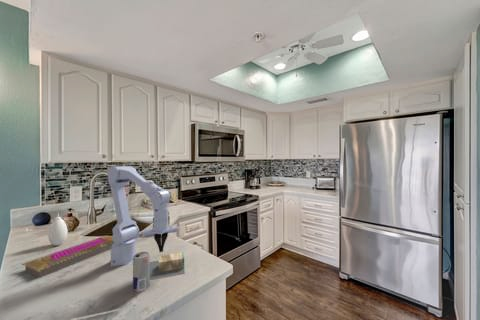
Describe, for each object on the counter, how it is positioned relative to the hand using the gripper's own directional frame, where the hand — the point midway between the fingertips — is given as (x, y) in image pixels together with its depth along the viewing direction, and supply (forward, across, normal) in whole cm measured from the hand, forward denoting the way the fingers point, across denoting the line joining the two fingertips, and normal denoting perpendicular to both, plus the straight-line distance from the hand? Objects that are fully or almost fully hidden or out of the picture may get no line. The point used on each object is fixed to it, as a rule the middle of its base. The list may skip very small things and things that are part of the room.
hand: (161, 250), depth 83 cm
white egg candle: (+8, -57, +47) cm, 74 cm away
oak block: (+5, -1, 0) cm, 5 cm away
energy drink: (+8, -6, -11) cm, 15 cm away
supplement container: (+8, -3, +52) cm, 53 cm away
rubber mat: (+8, 0, 0) cm, 8 cm away
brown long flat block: (+9, -39, +27) cm, 48 cm away
